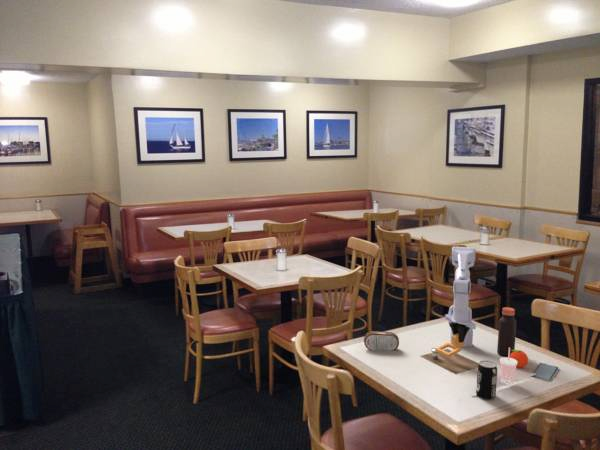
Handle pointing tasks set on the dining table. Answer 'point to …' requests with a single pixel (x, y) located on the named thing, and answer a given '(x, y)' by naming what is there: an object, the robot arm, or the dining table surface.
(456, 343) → the orange square hoop tool
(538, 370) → the smartphone
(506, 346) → the bottle
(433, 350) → the chrome cabinet knob
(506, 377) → the beverage cup
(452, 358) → the plate
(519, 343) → the dining table surface
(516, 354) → the clementine
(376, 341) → the tin
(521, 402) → the dining table surface
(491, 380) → the beverage can
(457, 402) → the dining table surface
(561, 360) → the dining table surface
